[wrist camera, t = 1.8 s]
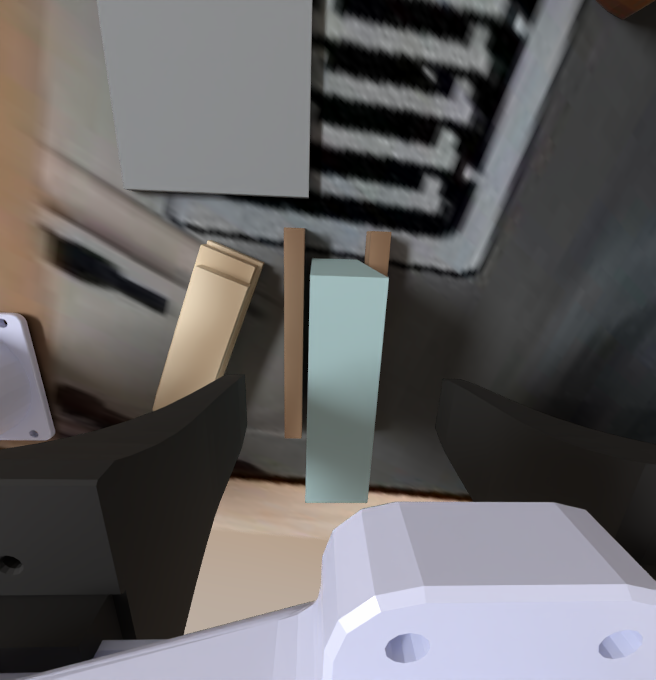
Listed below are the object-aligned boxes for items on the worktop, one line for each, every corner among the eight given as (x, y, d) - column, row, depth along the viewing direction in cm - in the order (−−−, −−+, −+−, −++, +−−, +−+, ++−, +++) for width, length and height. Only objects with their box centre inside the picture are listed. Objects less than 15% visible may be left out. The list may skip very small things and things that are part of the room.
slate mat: (130, 190, 16) (123, 188, 16) (88, -112, 13) (78, -128, 12) (308, 198, 17) (308, 197, 16) (314, -92, 13) (314, -106, 13)
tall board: (309, 403, 20) (305, 502, 13) (312, 258, 18) (310, 275, 10) (347, 403, 21) (367, 502, 13) (357, 259, 18) (388, 278, 10)
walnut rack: (286, 424, 21) (284, 438, 19) (286, 228, 17) (284, 227, 16) (368, 425, 21) (372, 439, 20) (385, 232, 17) (391, 232, 16)
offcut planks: (165, 393, 20) (144, 416, 18) (213, 240, 17) (195, 241, 15) (212, 408, 21) (197, 433, 18) (265, 262, 18) (257, 267, 15)
